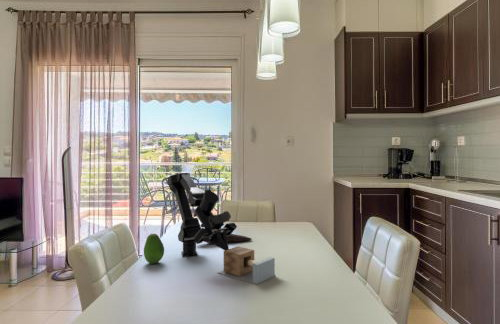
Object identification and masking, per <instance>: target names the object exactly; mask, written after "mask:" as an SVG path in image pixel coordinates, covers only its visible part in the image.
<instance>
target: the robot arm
mask: <svg viewBox="0 0 500 324" xmlns="http://www.w3.org/2000/svg"><path fill="white" fill-rule="evenodd" d="M166 183H167V185H168V187H169V190H170V191H171V192H172V193H173V194H174V195H175V198H176V199H175V200H176V202H177V206H178V210H179V213H180V218H181V224H180V230H179V232H178V234H177V238H178V240H177V241H178V242H181V243H182V251H181V252H180V253H181V255H182V257H191V256H192V257H193V256H198V255H199V253H198V251H197V244H198V245H200V244H202V243H204V241H203V239H202V238H205V237H209V239H210V240H209V241H208V242H209V243H208V244H212V245H214V246H217V247H218V248H220V249H222V250H223V251H225V250H228V249H230V248H229V244H228V243H227V238H226V236H229V235H231V234H233V232H234V231H235V230H236V229H237V228H238V226H237V225H236V223H235V222H229V221H230V219H231V218H232V216H231V214H230V212H229V211H228V210H225V211H223V212H221V213H220V214H214V213H213V210H214V209H215V207H216V205H217V203H218V201H219V196H218V194H217V193H216V192H213V191H212V190H211V189H205V190H204V189H201V188H199V187H198V186H197V184H196V183H195V181H194V180H193V178H192V177H191V174H190V172H188V171H183V172H181V171H180V172H177V173H175V174H172V175H171V174H170V175H169V177H167V179H166ZM187 195H188V196H187ZM191 207H192V208H194V207H196V209H194V212H192V209H191ZM226 222H228V223H226ZM200 223H201V224H200ZM225 223H226V224H225ZM224 224H225V225H224ZM201 228H205V229H201Z"/></svg>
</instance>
